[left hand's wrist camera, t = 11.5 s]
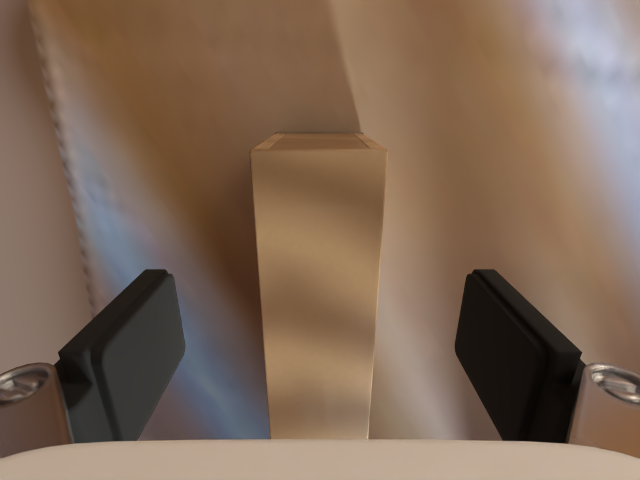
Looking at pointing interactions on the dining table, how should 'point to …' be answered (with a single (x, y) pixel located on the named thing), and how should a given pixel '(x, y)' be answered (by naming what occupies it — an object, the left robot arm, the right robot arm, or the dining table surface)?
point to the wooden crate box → (318, 278)
